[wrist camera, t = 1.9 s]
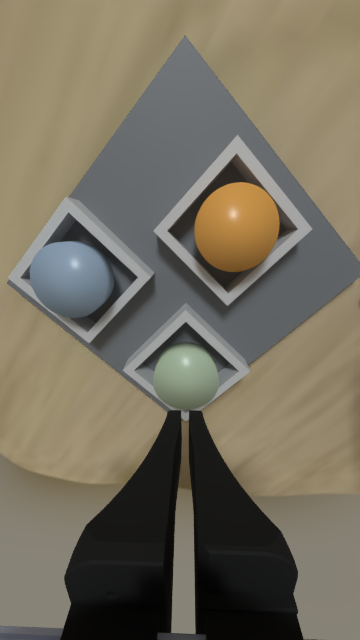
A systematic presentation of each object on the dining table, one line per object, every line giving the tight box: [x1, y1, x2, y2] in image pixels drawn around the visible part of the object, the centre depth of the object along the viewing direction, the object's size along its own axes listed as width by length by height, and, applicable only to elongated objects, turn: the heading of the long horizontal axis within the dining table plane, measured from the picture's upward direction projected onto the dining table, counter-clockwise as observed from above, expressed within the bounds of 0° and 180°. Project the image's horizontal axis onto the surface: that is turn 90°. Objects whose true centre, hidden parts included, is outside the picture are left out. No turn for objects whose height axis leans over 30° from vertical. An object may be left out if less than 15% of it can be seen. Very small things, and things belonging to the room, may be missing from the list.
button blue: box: [30, 241, 114, 318], centre depth 15 cm, size 5×5×2 cm
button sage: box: [153, 342, 219, 410], centre depth 18 cm, size 5×5×2 cm
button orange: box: [194, 182, 280, 272], centre depth 14 cm, size 5×5×2 cm
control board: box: [7, 36, 360, 421], centre depth 17 cm, size 18×19×3 cm
